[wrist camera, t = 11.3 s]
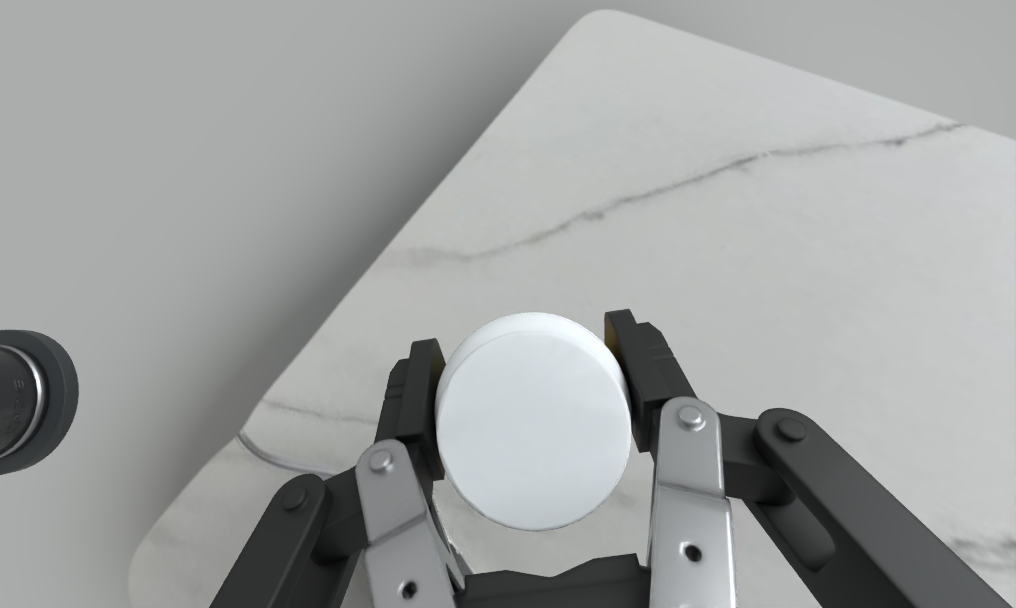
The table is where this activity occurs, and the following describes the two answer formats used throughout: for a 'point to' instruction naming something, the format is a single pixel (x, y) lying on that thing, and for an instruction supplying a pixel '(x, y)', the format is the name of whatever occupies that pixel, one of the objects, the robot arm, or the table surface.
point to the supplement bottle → (533, 421)
